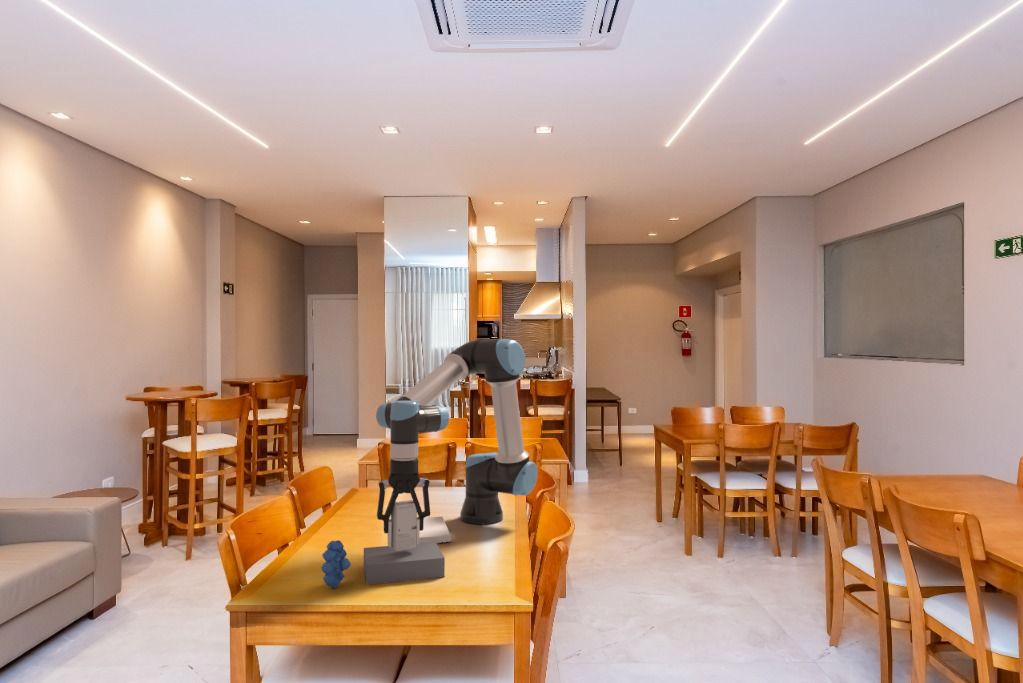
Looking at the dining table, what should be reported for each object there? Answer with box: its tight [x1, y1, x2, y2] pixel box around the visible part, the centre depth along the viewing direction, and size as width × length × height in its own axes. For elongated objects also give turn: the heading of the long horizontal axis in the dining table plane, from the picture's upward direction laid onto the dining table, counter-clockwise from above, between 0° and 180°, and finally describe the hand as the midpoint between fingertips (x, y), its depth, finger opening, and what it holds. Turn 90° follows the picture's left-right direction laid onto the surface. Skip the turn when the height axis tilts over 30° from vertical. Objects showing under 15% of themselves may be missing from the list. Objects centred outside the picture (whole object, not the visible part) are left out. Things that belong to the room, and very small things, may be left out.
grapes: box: [320, 539, 352, 589], centre depth 151 cm, size 12×7×12 cm, turn 174°
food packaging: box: [419, 516, 452, 545], centre depth 195 cm, size 15×3×20 cm
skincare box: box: [390, 499, 418, 551], centre depth 163 cm, size 6×4×12 cm
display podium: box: [363, 542, 446, 585], centre depth 163 cm, size 20×14×5 cm
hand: (403, 543), depth 163 cm, fingers closed on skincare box, 7 cm apart
